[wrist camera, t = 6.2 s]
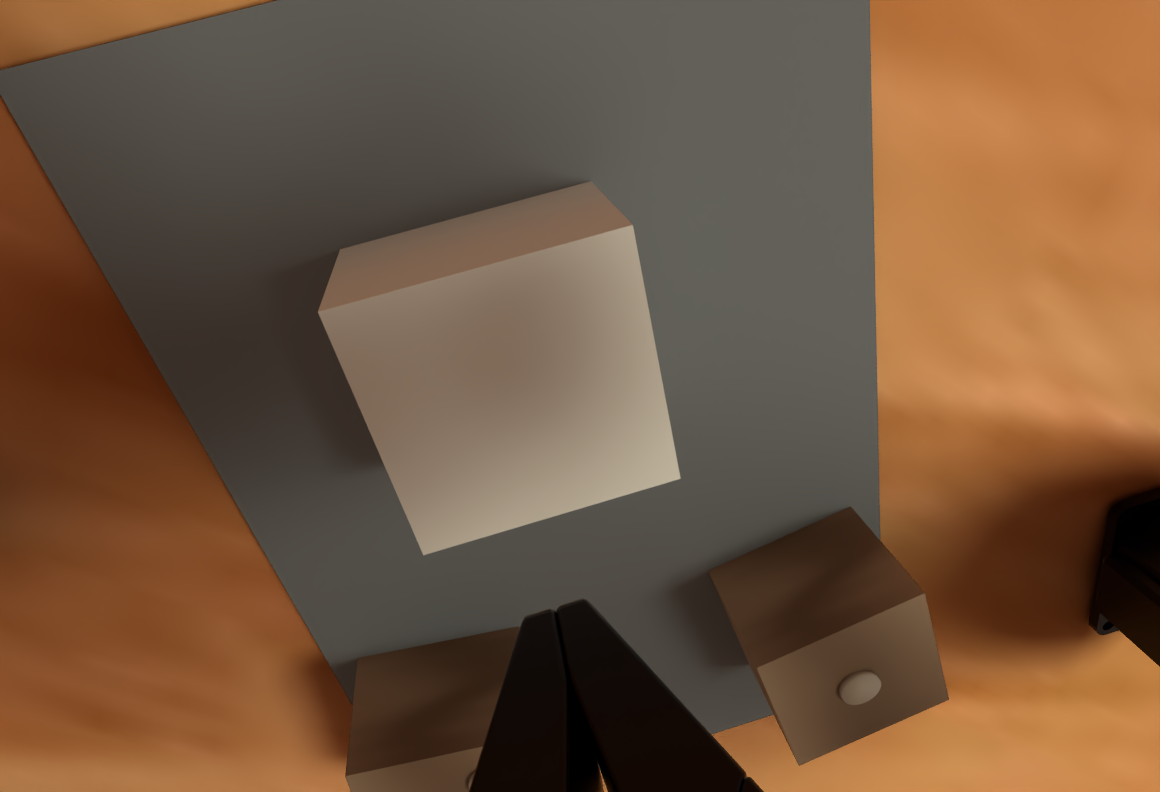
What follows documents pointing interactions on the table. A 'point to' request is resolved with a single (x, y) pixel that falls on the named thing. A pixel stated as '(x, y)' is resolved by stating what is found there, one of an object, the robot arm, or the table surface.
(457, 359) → the plain block
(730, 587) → the pip block one
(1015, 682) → the table surface
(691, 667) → the mat
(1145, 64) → the table surface
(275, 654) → the table surface
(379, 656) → the pip block two
